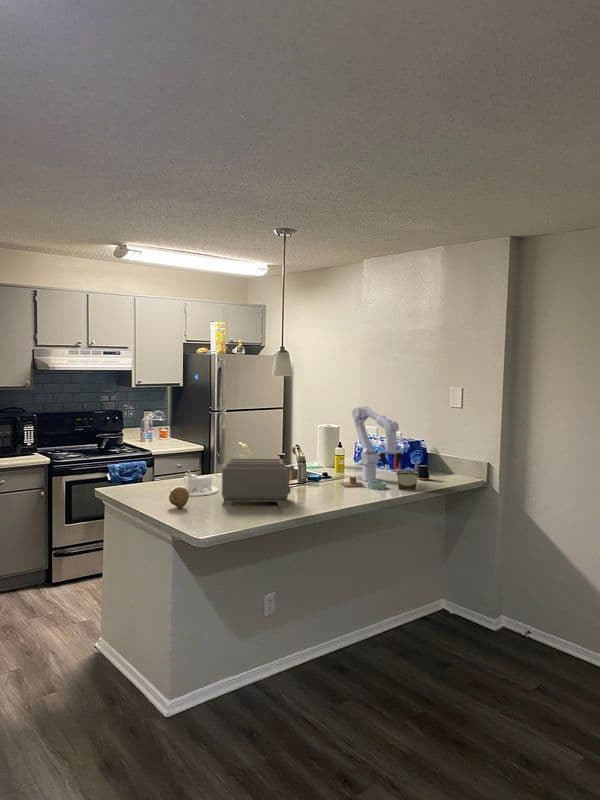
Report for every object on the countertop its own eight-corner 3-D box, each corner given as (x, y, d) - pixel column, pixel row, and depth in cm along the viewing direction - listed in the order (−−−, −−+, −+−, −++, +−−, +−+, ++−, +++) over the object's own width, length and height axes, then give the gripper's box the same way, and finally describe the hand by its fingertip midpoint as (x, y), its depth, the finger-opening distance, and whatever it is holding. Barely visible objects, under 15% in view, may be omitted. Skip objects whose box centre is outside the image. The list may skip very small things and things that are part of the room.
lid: (341, 483, 357) (341, 475, 357) (359, 482, 359) (360, 475, 358) (345, 486, 346) (345, 479, 346) (364, 486, 348) (365, 479, 348)
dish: (175, 498, 313) (175, 476, 313) (167, 488, 337) (167, 467, 336) (223, 495, 322) (223, 473, 322) (211, 485, 346) (212, 465, 345)
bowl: (365, 485, 352) (365, 480, 351) (382, 485, 353) (383, 480, 353) (370, 489, 342) (370, 484, 342) (388, 489, 343) (388, 484, 343)
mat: (340, 483, 357) (340, 482, 357) (360, 483, 359) (360, 482, 359) (344, 487, 346) (344, 487, 346) (365, 487, 348) (365, 486, 347)
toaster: (294, 507, 299) (295, 464, 298) (221, 506, 297) (221, 464, 296) (292, 498, 318) (293, 458, 317) (223, 497, 316) (224, 457, 315)
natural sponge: (173, 511, 286) (174, 489, 285) (165, 507, 293) (165, 486, 292) (192, 508, 291) (192, 487, 290) (183, 505, 298) (183, 484, 298)
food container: (417, 488, 349) (418, 470, 348) (418, 490, 342) (419, 472, 342) (395, 487, 350) (395, 469, 349) (395, 489, 344) (396, 471, 343)
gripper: (380, 443, 350) (380, 467, 351) (405, 443, 353) (404, 467, 353) (377, 442, 357) (376, 465, 358) (401, 442, 360) (400, 465, 360)
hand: (390, 466), depth 356 cm, fingers open, 7 cm apart
